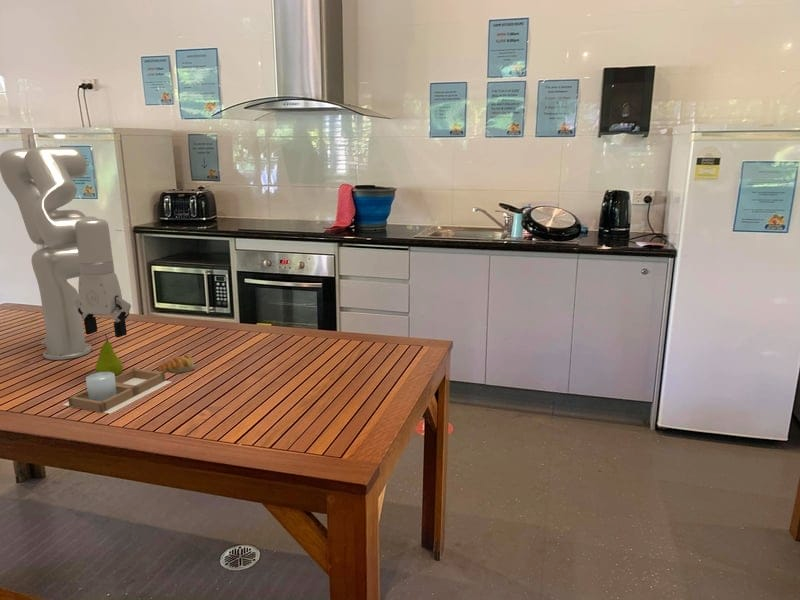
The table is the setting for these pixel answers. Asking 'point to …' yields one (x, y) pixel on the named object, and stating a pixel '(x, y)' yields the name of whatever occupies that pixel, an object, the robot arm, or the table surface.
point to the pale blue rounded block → (101, 386)
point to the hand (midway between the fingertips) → (106, 334)
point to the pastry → (177, 365)
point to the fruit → (108, 360)
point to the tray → (122, 391)
